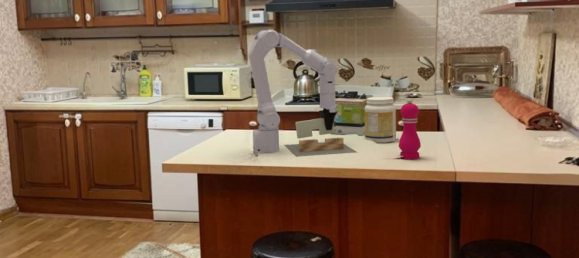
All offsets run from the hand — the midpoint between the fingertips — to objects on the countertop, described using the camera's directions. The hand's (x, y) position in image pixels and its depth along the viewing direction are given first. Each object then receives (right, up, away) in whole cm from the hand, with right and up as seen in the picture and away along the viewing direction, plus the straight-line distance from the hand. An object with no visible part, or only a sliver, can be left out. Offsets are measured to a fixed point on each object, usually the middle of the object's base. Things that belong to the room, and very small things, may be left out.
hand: (328, 129), depth 213 cm
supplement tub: (+22, -5, +12) cm, 25 cm away
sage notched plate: (-5, -2, -1) cm, 5 cm away
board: (-4, -8, -5) cm, 10 cm away
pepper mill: (+26, -10, -21) cm, 35 cm away
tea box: (+11, -2, +32) cm, 34 cm away
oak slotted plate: (-3, -7, -9) cm, 12 cm away
